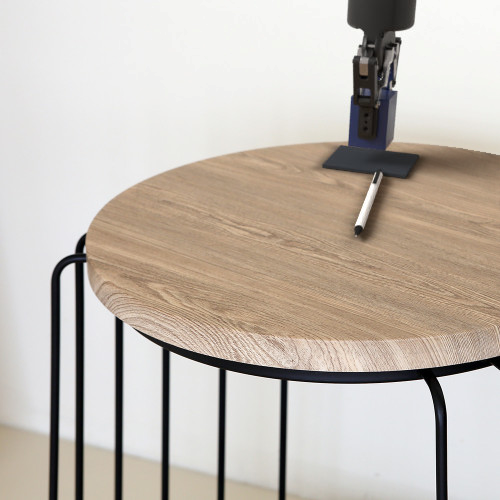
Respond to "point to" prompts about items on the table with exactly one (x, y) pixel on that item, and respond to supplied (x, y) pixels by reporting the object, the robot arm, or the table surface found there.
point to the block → (384, 122)
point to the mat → (371, 161)
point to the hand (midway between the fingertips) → (372, 131)
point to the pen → (368, 203)
